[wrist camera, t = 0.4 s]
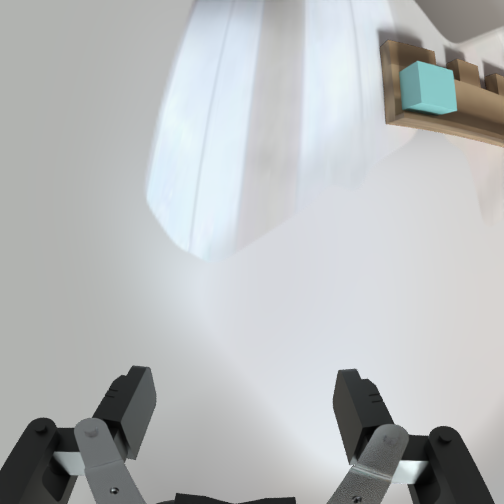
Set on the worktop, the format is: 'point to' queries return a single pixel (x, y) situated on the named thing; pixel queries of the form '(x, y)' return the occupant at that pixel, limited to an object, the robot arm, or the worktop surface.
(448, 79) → the teal block
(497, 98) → the walnut tray
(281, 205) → the worktop surface
